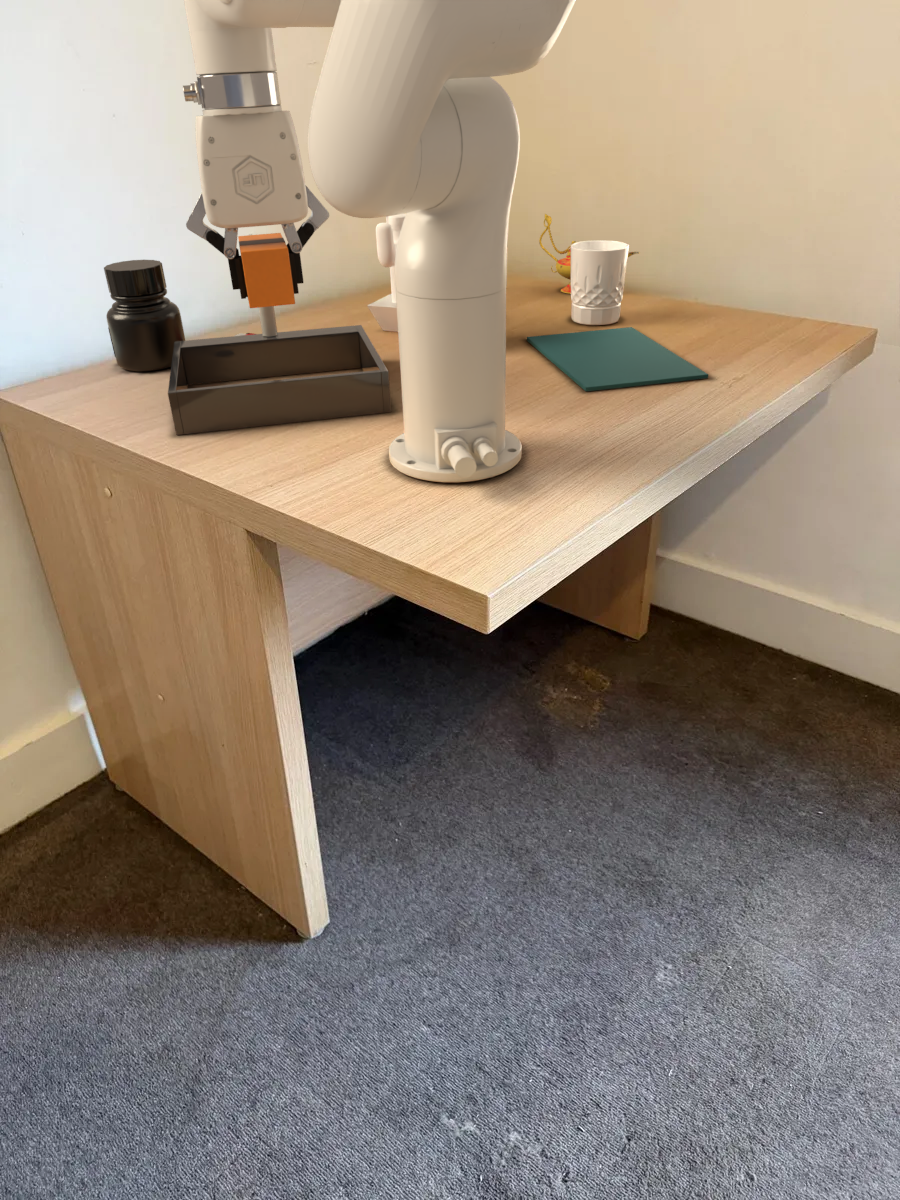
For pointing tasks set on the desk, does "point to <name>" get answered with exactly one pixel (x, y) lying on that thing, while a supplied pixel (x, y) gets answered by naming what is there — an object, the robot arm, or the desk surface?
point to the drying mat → (614, 359)
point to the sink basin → (278, 396)
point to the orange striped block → (266, 270)
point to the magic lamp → (563, 264)
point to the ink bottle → (141, 316)
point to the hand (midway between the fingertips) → (269, 291)
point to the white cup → (597, 281)
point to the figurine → (386, 252)
